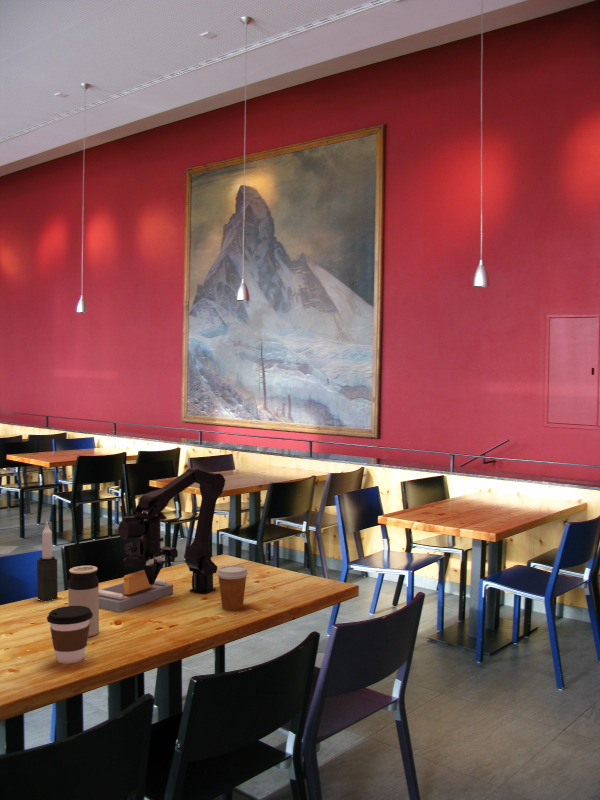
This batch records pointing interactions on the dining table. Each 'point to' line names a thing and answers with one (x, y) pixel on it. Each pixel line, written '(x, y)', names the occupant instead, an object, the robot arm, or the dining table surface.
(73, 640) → the coffee cup
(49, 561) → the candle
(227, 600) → the disposable coffee cup
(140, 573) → the orange rectangular slab
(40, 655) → the dining table surface
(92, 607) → the travel mug
